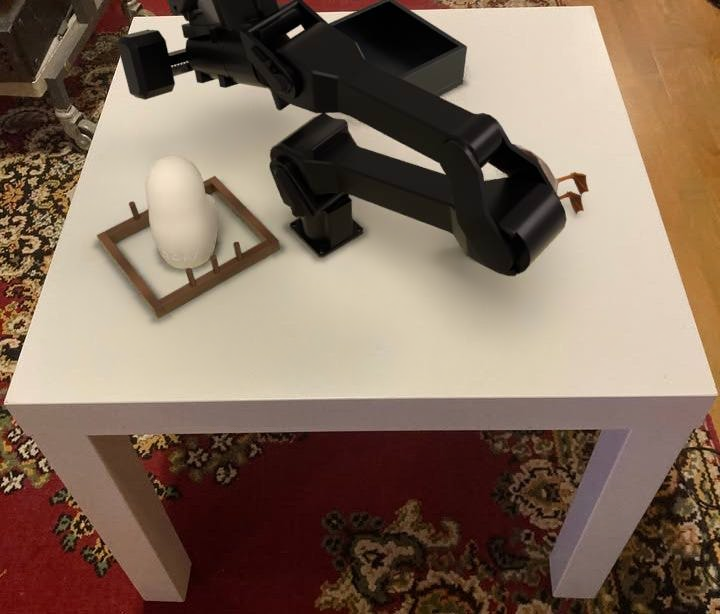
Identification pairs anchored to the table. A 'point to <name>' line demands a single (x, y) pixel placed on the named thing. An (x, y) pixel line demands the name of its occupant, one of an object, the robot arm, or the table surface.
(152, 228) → the figurine
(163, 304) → the drying rack
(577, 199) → the decorative duck model
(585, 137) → the table surface
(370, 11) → the dark grey open box
